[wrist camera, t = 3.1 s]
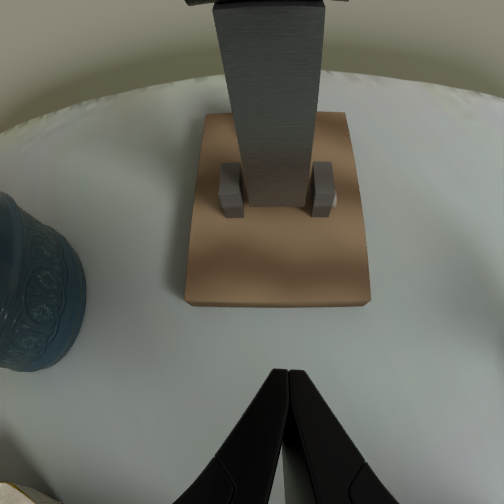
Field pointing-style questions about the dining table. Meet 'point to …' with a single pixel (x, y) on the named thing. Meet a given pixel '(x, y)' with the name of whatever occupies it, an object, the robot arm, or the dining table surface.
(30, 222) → the canister
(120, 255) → the dining table surface
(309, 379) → the robot arm
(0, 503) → the chinaware
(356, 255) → the board
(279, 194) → the lever
